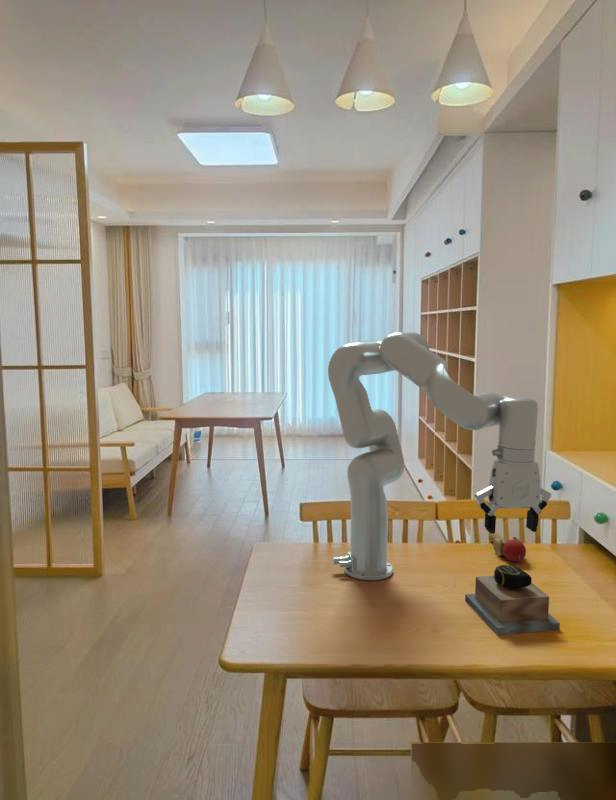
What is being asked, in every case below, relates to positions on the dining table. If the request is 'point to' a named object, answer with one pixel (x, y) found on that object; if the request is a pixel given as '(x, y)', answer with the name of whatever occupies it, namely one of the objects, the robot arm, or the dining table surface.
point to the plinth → (511, 625)
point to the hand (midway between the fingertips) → (510, 530)
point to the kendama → (508, 547)
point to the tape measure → (511, 577)
